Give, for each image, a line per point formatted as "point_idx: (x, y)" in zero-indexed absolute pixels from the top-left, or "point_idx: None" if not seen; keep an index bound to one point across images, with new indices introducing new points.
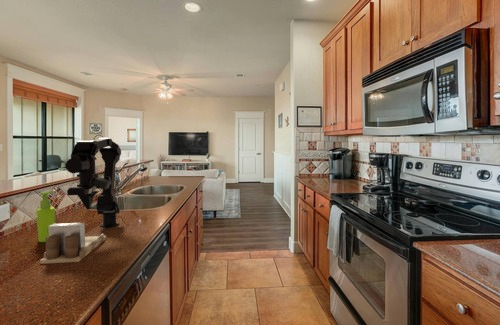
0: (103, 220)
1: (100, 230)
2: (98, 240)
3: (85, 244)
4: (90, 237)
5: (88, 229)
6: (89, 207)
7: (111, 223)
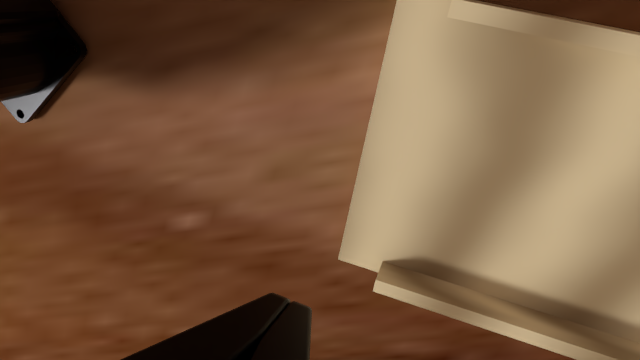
0: (3, 92)
1: (143, 92)
2: (606, 27)
3: (626, 148)
4: (399, 137)
5: (105, 190)
6: (306, 327)
7: (37, 7)
